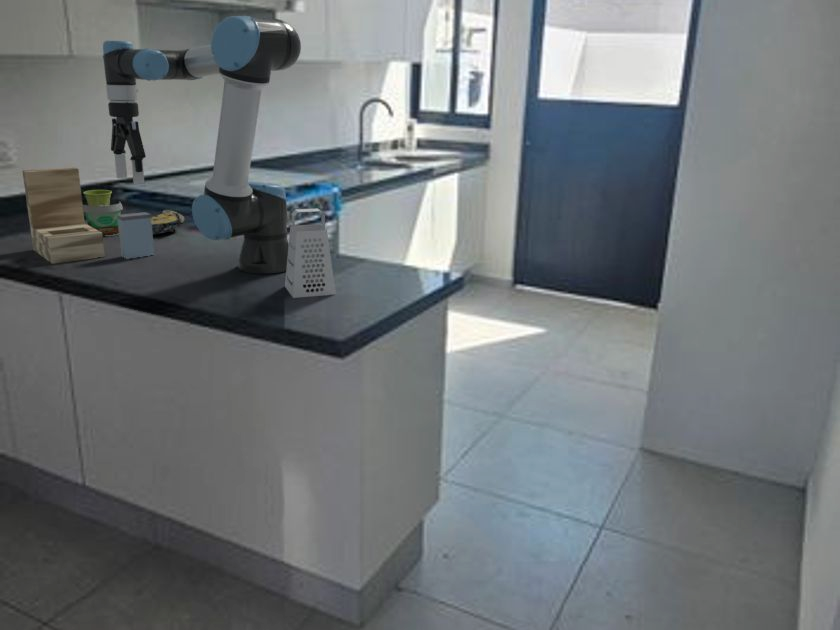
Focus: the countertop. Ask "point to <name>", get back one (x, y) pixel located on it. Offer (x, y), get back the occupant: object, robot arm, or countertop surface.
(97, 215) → the food container
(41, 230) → the slotted wooden holder
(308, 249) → the grater
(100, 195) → the plant pot
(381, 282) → the countertop surface
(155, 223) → the yellow piece
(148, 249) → the pale blue plaque
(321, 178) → the countertop surface
